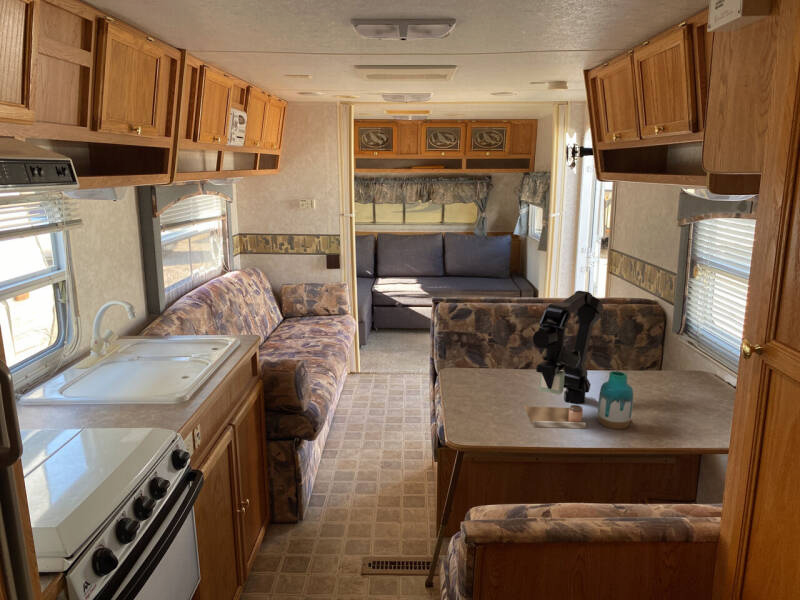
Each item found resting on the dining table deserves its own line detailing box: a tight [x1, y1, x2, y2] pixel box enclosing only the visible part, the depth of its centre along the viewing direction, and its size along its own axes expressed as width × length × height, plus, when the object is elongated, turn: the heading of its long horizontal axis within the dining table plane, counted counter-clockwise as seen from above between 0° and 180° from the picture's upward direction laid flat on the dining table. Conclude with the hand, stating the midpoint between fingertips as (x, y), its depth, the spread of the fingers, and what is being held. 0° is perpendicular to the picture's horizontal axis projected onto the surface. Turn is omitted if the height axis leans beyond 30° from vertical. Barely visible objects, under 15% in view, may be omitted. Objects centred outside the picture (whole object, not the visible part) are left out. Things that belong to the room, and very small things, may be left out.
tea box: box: [538, 370, 565, 396], centre depth 195 cm, size 7×4×7 cm, turn 59°
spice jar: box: [568, 404, 584, 422], centre depth 192 cm, size 4×4×6 cm
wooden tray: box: [523, 406, 587, 430], centre depth 198 cm, size 17×17×3 cm
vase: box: [597, 370, 634, 430], centre depth 191 cm, size 11×11×19 cm
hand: (551, 386), depth 195 cm, fingers closed on tea box, 4 cm apart
